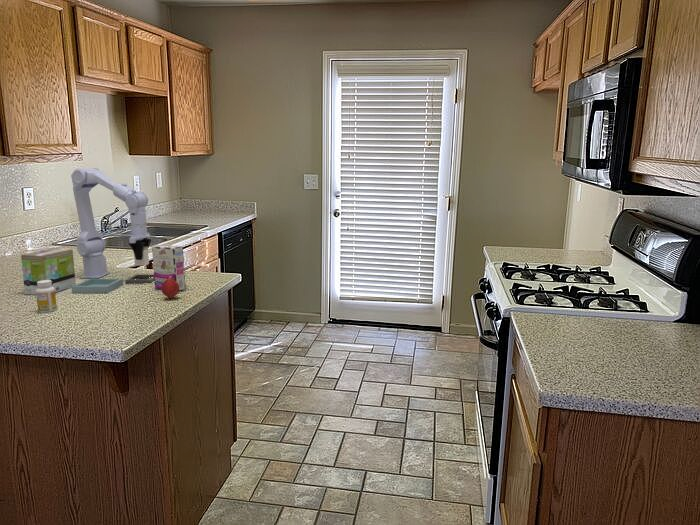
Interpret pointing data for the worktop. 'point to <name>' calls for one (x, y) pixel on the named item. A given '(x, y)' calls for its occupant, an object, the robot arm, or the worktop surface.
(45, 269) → the tea box
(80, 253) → the robot arm
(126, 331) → the worktop surface
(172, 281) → the onion
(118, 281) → the parts tray
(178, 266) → the candy bar box
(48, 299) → the supplement bottle
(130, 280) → the socket collar
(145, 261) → the tan rectangular block
